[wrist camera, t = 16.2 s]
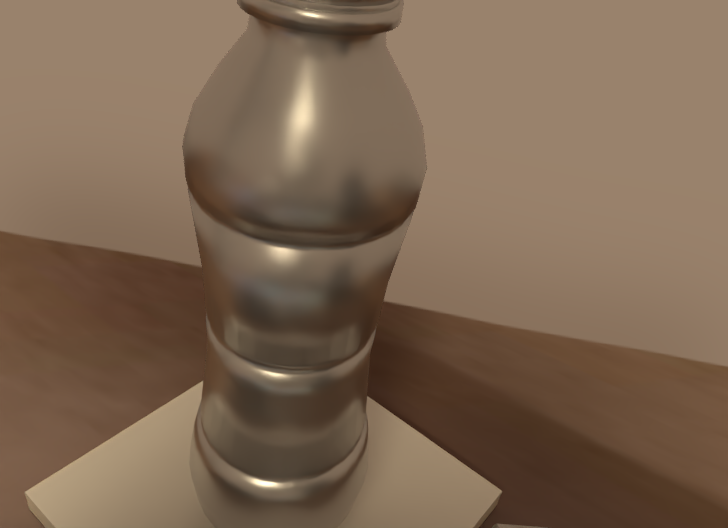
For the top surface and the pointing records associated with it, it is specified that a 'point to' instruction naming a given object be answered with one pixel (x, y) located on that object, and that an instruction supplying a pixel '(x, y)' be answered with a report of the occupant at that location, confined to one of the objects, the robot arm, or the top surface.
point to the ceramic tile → (183, 510)
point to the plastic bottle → (296, 254)
